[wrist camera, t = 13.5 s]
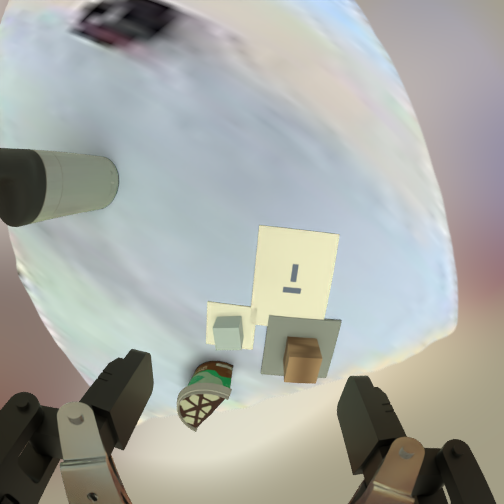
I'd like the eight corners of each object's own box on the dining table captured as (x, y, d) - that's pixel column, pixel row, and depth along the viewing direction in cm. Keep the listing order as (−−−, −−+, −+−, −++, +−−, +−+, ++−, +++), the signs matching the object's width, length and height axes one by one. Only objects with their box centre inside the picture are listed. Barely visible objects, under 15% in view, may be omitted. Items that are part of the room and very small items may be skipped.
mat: (260, 372, 46) (260, 374, 46) (269, 314, 43) (269, 315, 43) (325, 375, 46) (325, 377, 45) (340, 320, 43) (341, 321, 42)
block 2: (283, 360, 45) (284, 382, 39) (287, 336, 44) (289, 356, 38) (311, 362, 44) (315, 383, 39) (316, 338, 43) (322, 358, 37)
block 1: (220, 337, 45) (216, 350, 41) (217, 316, 44) (212, 328, 40) (243, 336, 44) (241, 349, 40) (241, 315, 43) (238, 327, 40)
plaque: (206, 342, 45) (206, 343, 45) (207, 301, 44) (207, 302, 43) (252, 348, 45) (252, 349, 45) (257, 307, 43) (257, 308, 43)
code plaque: (249, 323, 44) (249, 323, 44) (259, 225, 40) (259, 225, 40) (321, 329, 44) (321, 330, 43) (339, 234, 40) (339, 234, 40)
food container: (207, 343, 45) (193, 378, 36) (237, 360, 46) (230, 397, 36) (178, 382, 48) (163, 416, 39) (205, 397, 49) (194, 433, 39)
